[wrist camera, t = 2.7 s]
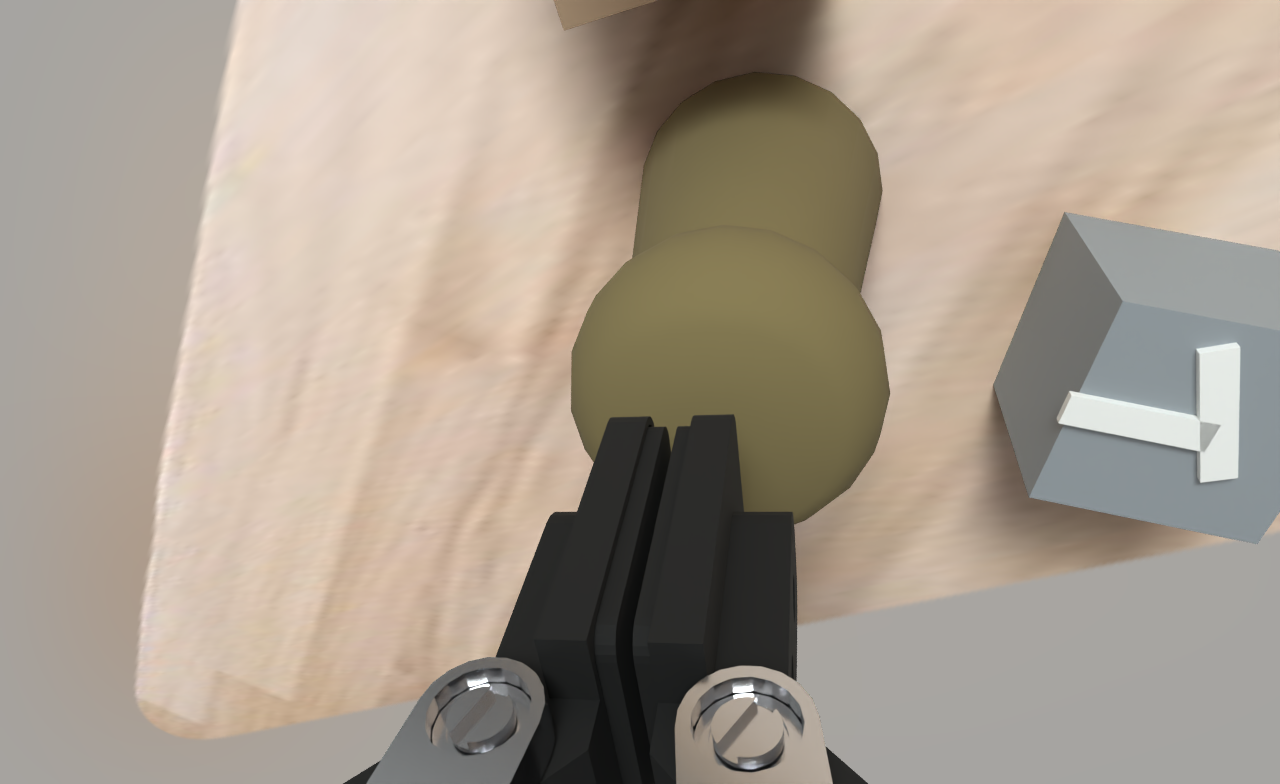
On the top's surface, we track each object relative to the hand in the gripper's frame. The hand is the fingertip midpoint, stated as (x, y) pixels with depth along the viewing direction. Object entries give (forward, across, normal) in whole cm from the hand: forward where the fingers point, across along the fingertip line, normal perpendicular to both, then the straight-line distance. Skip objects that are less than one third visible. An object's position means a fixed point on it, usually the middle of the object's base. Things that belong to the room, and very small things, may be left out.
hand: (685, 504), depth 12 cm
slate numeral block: (+12, -10, +4) cm, 16 cm away
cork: (+13, 0, 0) cm, 13 cm away
